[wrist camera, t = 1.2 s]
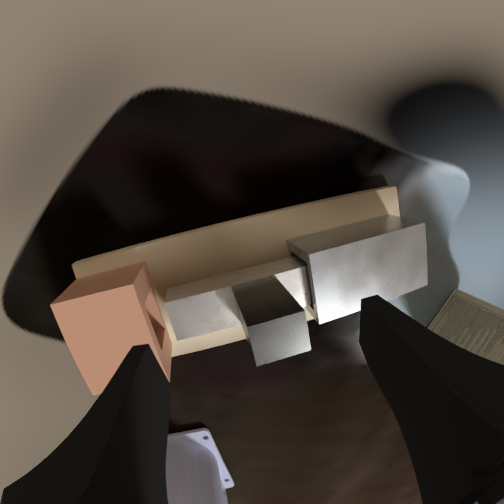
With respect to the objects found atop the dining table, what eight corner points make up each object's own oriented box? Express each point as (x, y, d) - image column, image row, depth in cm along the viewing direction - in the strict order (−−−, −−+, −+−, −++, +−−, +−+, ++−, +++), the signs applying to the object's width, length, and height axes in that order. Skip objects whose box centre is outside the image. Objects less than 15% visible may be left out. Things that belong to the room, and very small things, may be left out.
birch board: (398, 283, 24) (404, 287, 24) (115, 361, 22) (112, 368, 21) (388, 185, 22) (396, 186, 22) (76, 261, 20) (71, 264, 19)
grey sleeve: (393, 268, 23) (427, 284, 19) (296, 298, 22) (319, 324, 18) (388, 214, 22) (425, 222, 18) (286, 239, 21) (308, 254, 17)
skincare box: (435, 355, 28) (515, 418, 16) (417, 337, 26) (506, 405, 15) (471, 306, 27) (557, 354, 16) (455, 283, 26) (553, 331, 14)
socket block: (172, 343, 21) (169, 382, 17) (107, 357, 20) (92, 395, 16) (145, 261, 19) (132, 284, 15) (76, 279, 19) (50, 304, 14)
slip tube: (388, 263, 22) (455, 295, 15) (178, 323, 20) (175, 389, 13) (386, 231, 21) (456, 253, 14) (167, 288, 19) (156, 344, 12)
